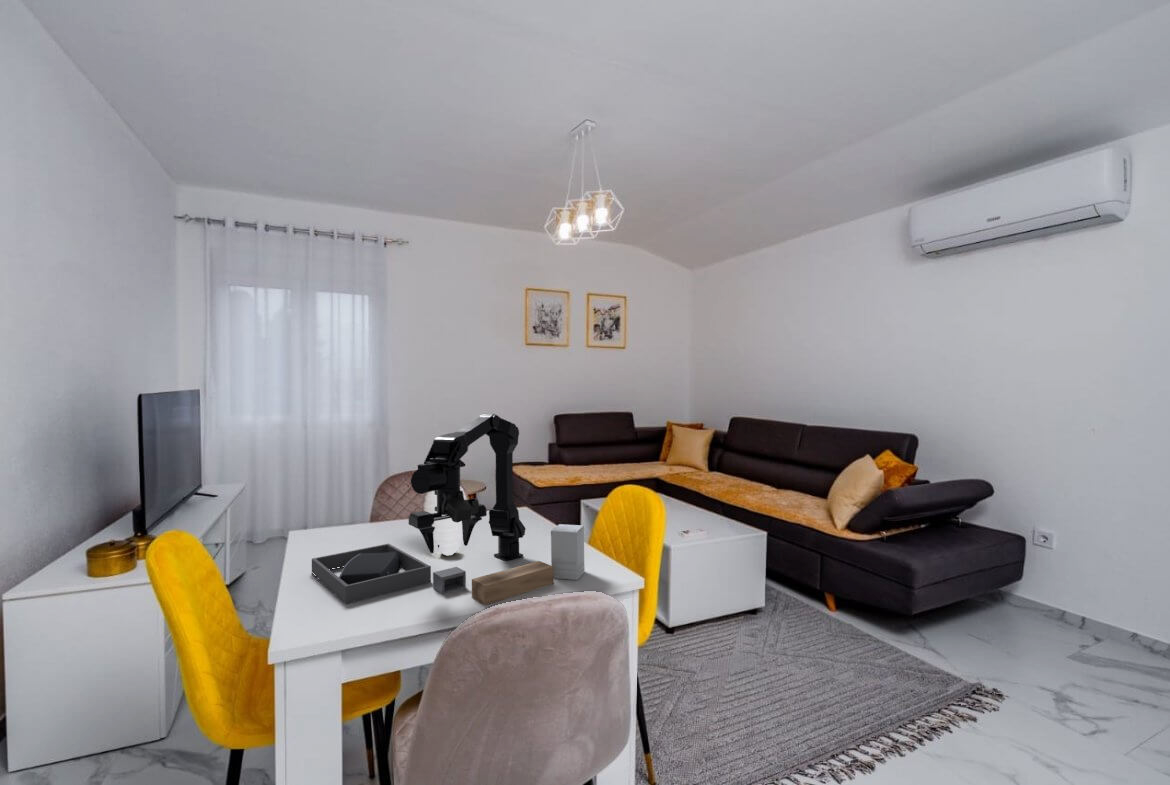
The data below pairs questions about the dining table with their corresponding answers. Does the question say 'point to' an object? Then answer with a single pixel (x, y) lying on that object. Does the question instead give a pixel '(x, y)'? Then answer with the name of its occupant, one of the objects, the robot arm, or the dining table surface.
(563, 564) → the supplement box
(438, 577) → the box
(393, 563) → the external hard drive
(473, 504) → the robot arm
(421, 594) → the dining table surface
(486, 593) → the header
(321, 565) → the bumper frame
